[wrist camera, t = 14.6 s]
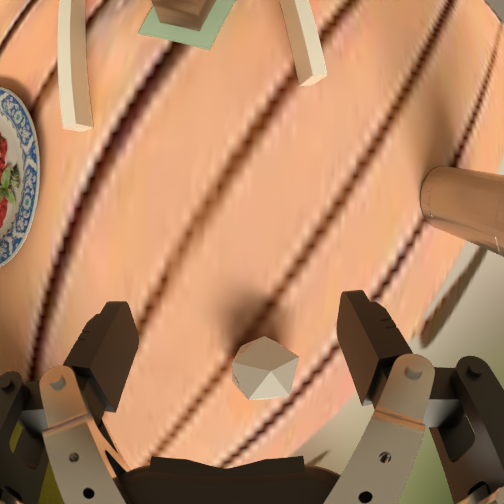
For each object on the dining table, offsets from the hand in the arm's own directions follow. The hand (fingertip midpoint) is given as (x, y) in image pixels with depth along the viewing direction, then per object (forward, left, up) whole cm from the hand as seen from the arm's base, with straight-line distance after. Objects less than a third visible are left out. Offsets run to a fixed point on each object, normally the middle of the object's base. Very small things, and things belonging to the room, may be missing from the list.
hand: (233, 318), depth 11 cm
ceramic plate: (+33, -13, -24) cm, 43 cm away
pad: (0, -25, -24) cm, 35 cm away
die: (-1, +20, -24) cm, 31 cm away
